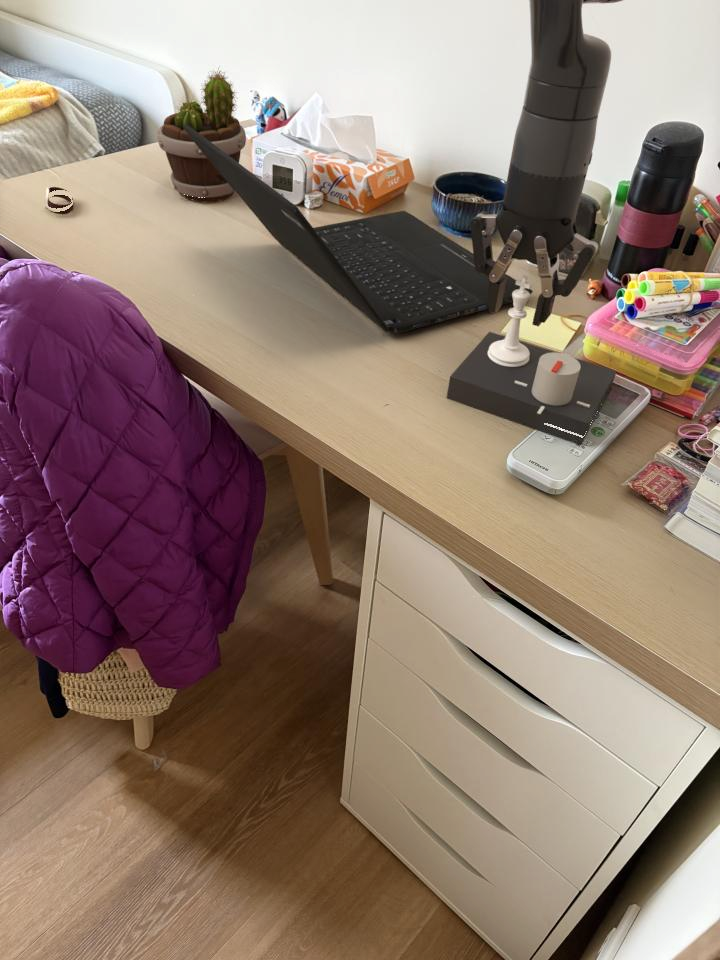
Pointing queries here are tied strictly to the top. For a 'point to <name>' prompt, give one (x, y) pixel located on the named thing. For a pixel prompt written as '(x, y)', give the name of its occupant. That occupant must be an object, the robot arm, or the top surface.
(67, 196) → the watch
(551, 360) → the knob
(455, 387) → the dark grey flat block
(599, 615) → the top surface
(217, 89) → the flowerpot
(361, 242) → the laptop
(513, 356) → the chess piece
